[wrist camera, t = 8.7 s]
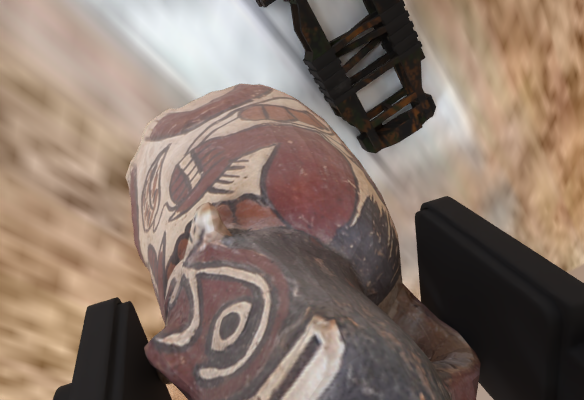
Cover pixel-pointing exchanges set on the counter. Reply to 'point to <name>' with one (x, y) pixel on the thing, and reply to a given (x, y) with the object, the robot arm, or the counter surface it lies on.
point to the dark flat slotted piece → (367, 70)
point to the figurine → (279, 262)
